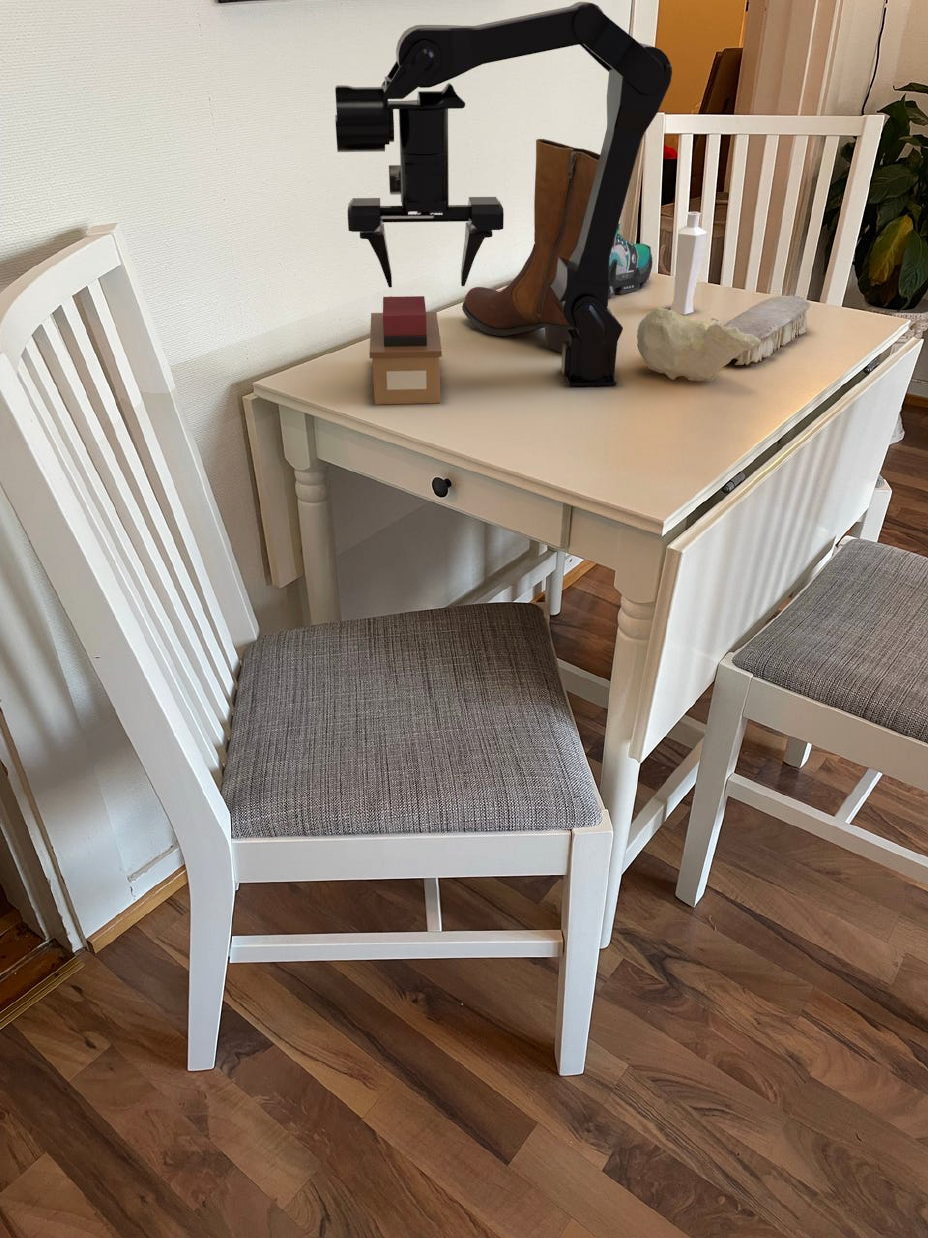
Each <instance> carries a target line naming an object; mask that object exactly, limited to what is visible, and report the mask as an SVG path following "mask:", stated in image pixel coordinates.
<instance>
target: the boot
mask: <svg viewBox="0 0 928 1238" xmlns="http://www.w3.org/2000/svg"><path fill="white" fill-rule="evenodd" d="M600 154H601V153H600ZM600 154H599V153H597V152H595V151H592V150H589V149H585V148H579V147H574V146H570V145H567V144H564V143H562V142H561V143H560V142H557V141H553V140H549V139H545V138H537V139H535V172H534V173H535V174H534V175H535V177H534V197H533V199H534V201H533V216H534V217H533V218H534V219H533V220H534V223H533V225H534V230H533V231H534V233H533V237H534V239H533V242H534V243H533V246H532V249H531V252H530V254H529V256H528V257H527V259H526V261H525V263H524V264H523V266H522V268H521V270H520V271H519V273H518V274H517V275H516V277H515V278H513V280H512V281H511V282H510V283H508V285H507V286H505V287H504V288H503V289H502V290H500V291H499V290H497V289H493V288H489V287H484V286H475V287H472V288H470V289H469V290H468V291H467V293H466V294H465V297H464V300H463V302H462V306H461V308H462V312H463V315H465V317H466V318H467V319H468V321H469V322H470V323H471V324H473V326H475V327H476V328H478V329H479V330H480V331H483V332H484V333H486V334H489V335H492V336H497V337H498V336H499V337H507V336H513V335H519V334H523V333H527V332H528V333H529V332H532V331H536V330H540V329H544V347H545V348H546V349H549V350H551V351H554V352H556V353H560V354H562V350H563V342H564V341H567V336H568V330H569V329H574V328H573V327H572V326H571V325H570V324H568V322H567V321H566V319H565V318H564V316H563V314H562V313H561V311H560V310H559V308H558V306H557V305H556V302H555V299H554V291H553V290H552V288H551V285H552V283H553V282H554V280H555V277H556V274H557V264H558V258H559V257H562V258H564V259H567V260H569V258H570V257H571V255H572V254H573V252H574V251H575V249H576V247H577V244H578V241H579V237H580V233H581V229H582V225H583V221H584V217H585V213H586V209H587V205H588V201H589V197H590V193H591V189H592V185H593V182H594V178H595V174H596V170H597V166H598V162H599V158H600Z"/></svg>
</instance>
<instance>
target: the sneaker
mask: <svg viewBox="0 0 928 1238" xmlns="http://www.w3.org/2000/svg"><path fill="white" fill-rule="evenodd" d="M620 225H621V223H619V224H618V228H617V232H616V235H615V239H614V243H613V246H612V250H611V254H610V260H609V266H610V289H609V298H611V297H614V296H615V293H617V294H619V295H622V294H628V293H632V292H636V291H638V290H639V288H644V286H645V285H646V284H647V282H648V280H649V278H650V275H651V272H652V269H653V255H652V251H651V250H652V248H651V246H650V245H648V244H645V243H632V242H630V240H629V241H628V240H627V239H625V238H624V237H623V236H622V235H621V234H620Z"/></svg>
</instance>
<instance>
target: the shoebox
mask: <svg viewBox="0 0 928 1238" xmlns="http://www.w3.org/2000/svg"><path fill="white" fill-rule="evenodd" d="M426 324H427V346H393V347H384V331H383V312H371V313H370V331H369V332H370V333H369V359H371V360H372V361H371V362H372V378H373V379H372V381H373V399H374V401H373V402H374V405H415V404H418V405H419V404H440V403H441V391H440V390H441V384H440V383H441V381H440V380H441V378H440V376H441V375H440V374H441V373H440V358H442V357H443V351H442V343H441V335H440V328H439V321H438V314H437V311H426Z"/></svg>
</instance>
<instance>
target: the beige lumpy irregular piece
mask: <svg viewBox="0 0 928 1238" xmlns="http://www.w3.org/2000/svg"><path fill="white" fill-rule="evenodd" d="M710 321H712V322H713V321H716V322H715V323H714V324H707V323H705V322H702V321H698V320H695V319H692V318H690V317H688V316H685V315H683V314H678V313H676V312H674V311H671V310H670V309H666V308H663V307H656V308H653V309H652V310H651V311H649V312H648V313H647V314H646V315H645V316H644V317H643V318H642V319H641V321H640V322H639V324H638V327H637V331H636V332H637V334H636V338H637V344H636V346H637V350H638V353H639V354H640V356H641V357H642V358H643V360H644V362H645V363H646V365H647V368H648V369H649V370H652V371H654V372H656V373H659V374H665V376H667V377H668V378H669V379H670V380H672V381H674V380H675V379H677V377H682V376H683V377H685V379H686V378H687V380H688V381H694V382H699V381H706V382H708V383H710V382H712V381H713V380H715V378H716V377H717V376H718V374H719V373H720V371H721V369H722V368H724V367H725V366H727V365H728V364H730V363H731V362H732V360H733V359H734V358H735V357H737V356H738V355H739V354H740V353H741V352H743V351H745V350H750V349H752V348H755V347H757V346H758V345H760V343H761V340H760V339H759V338H757V337H755V336H753V335H751V334H744V333H741V332H740V331H739V330H738V328H737V327H733V328H729V327H725V326H724V324H721V323H720V321H721V320H720V319H716V318H714V317H711V318H710ZM730 361H731V362H730Z"/></svg>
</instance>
